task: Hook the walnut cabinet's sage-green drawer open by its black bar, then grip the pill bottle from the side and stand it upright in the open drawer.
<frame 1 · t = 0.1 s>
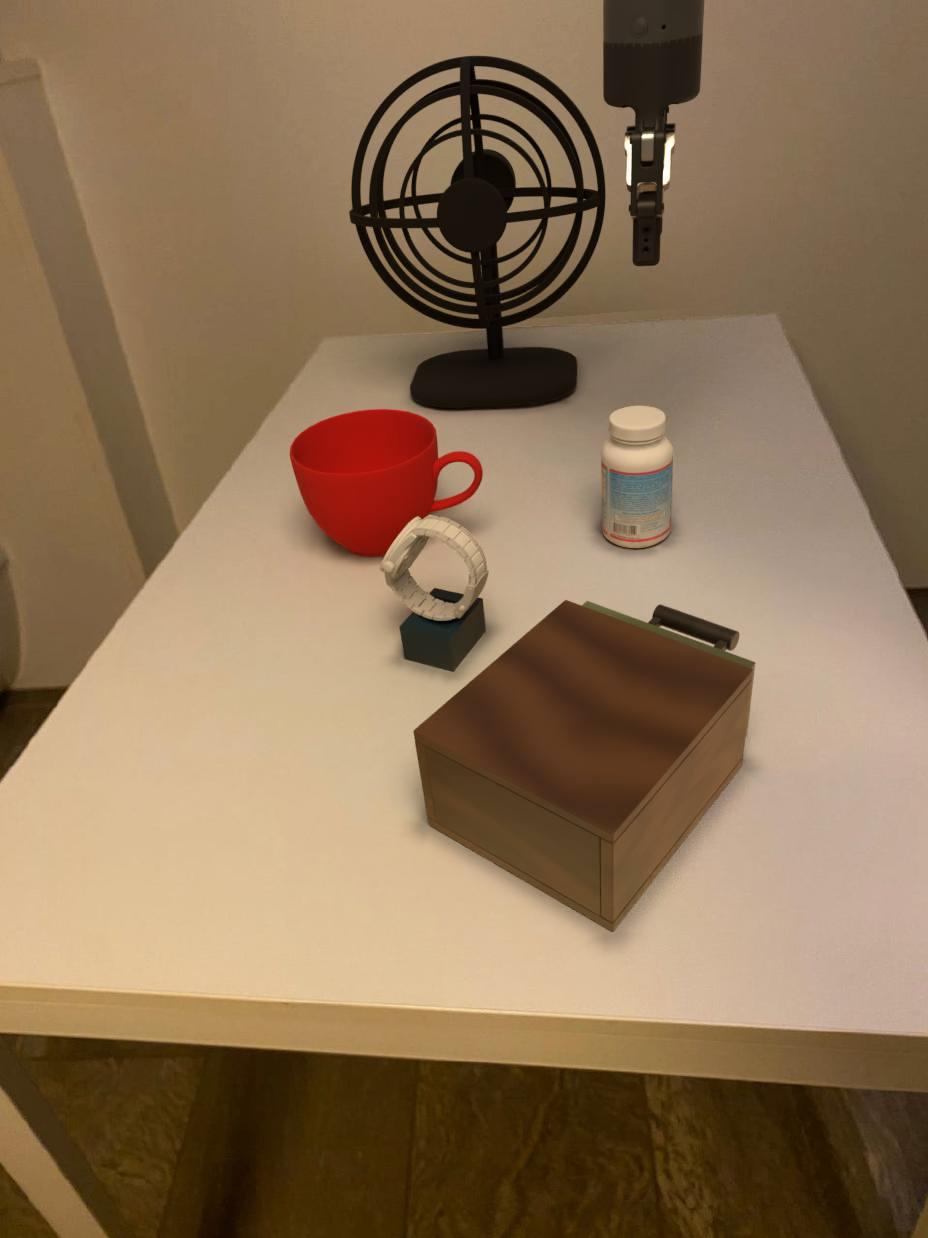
hand: (647, 249, 83), 21 cm above the table, tool pointing down, fingers open, 8 cm apart
drawer: (626, 707, 62), point 4 cm above the table, slide at 0.5 cm
desk fan: (492, 388, 116), on the table
ceramic cup: (399, 540, 89), on the table
cabinet: (587, 794, 61), on the table
pill bottle: (635, 534, 86), on the table
watch: (444, 646, 76), on the table
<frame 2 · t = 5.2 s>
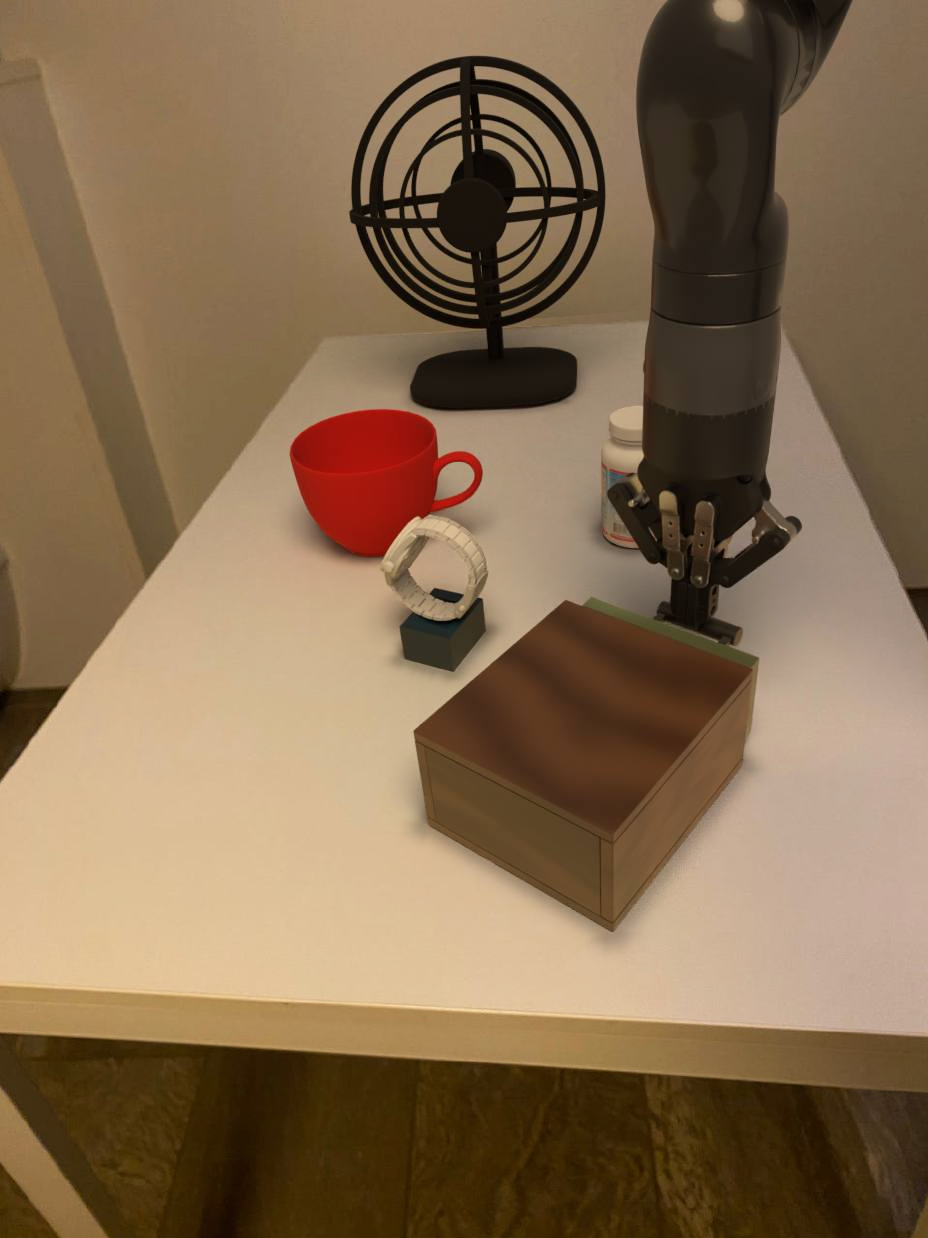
hand: (692, 620, 66), 6 cm above the table, tool pointing down, fingers closed
drawer: (631, 702, 62), point 4 cm above the table, slide at 1.1 cm, touching gripper
everything else where it was.
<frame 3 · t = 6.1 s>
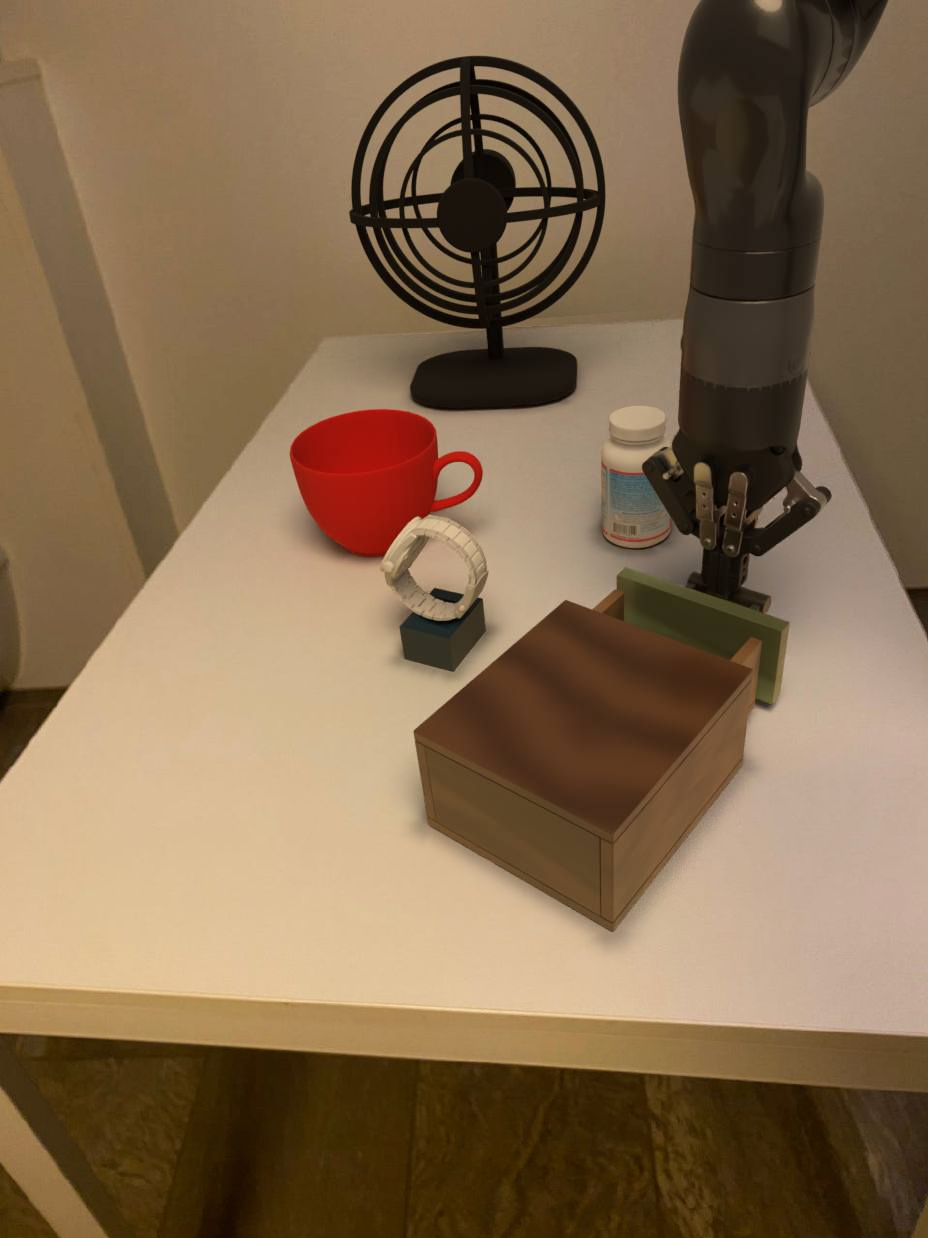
hand: (722, 589, 69), 6 cm above the table, tool pointing down, fingers closed
drawer: (665, 666, 65), point 4 cm above the table, slide at 5.4 cm, touching gripper
everything else where it was.
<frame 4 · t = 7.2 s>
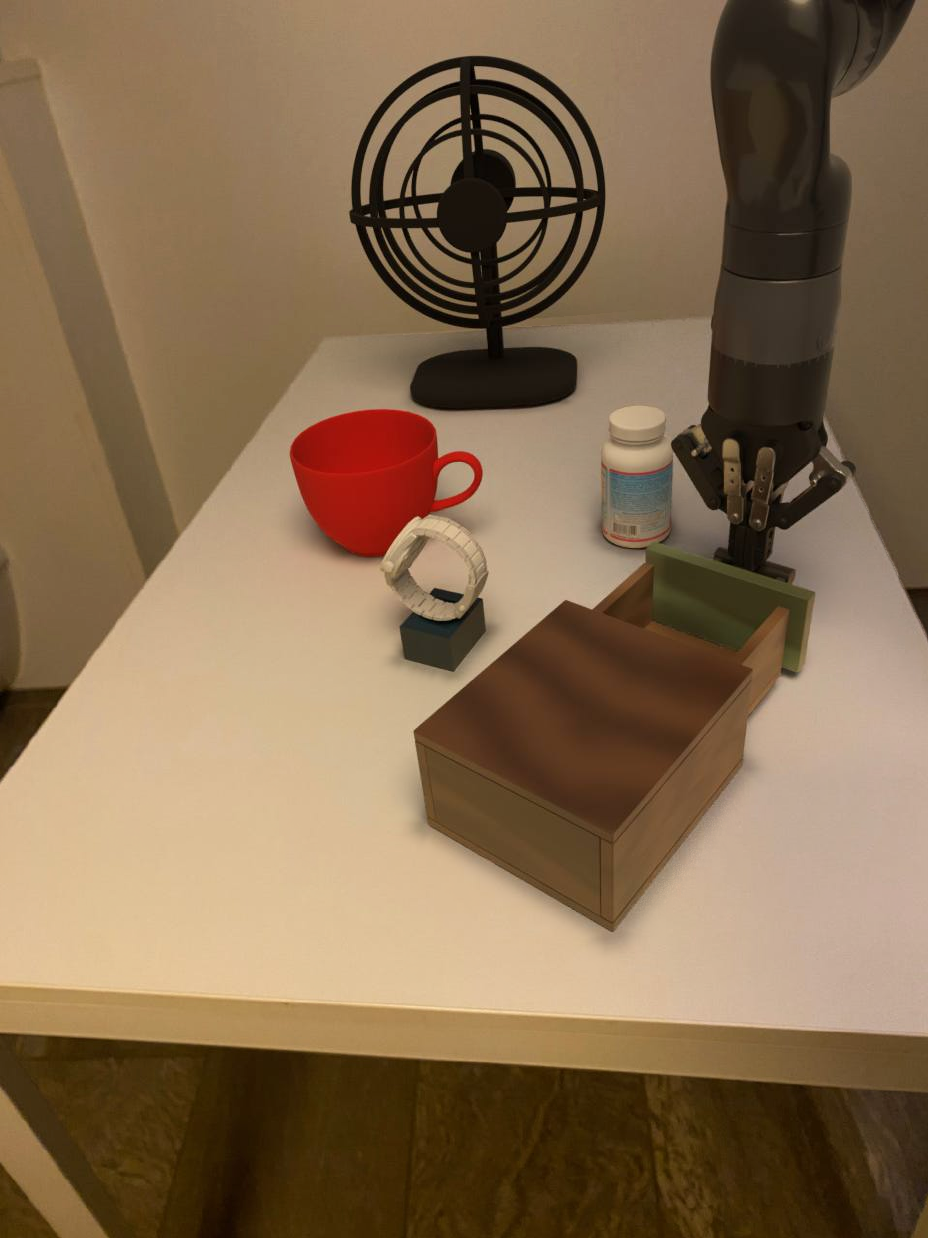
hand: (748, 563, 71), 6 cm above the table, tool pointing down, fingers closed
drawer: (694, 635, 67), point 4 cm above the table, slide at 9.5 cm, touching gripper
everything else where it was.
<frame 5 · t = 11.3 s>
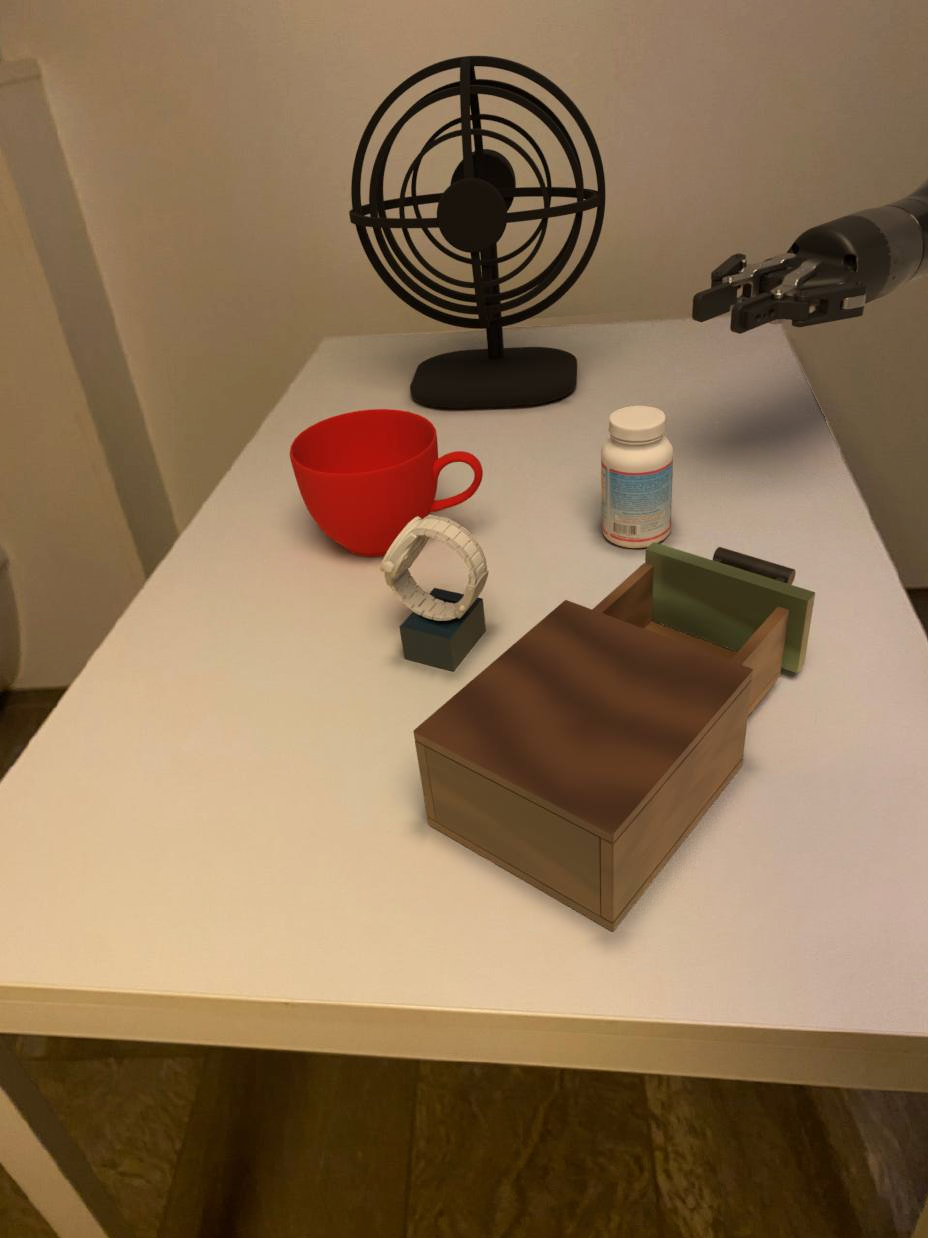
hand: (715, 314, 75), 19 cm above the table, tool horizontal, fingers open, 3 cm apart
drawer: (694, 636, 67), point 4 cm above the table, slide at 9.4 cm
everything else where it was.
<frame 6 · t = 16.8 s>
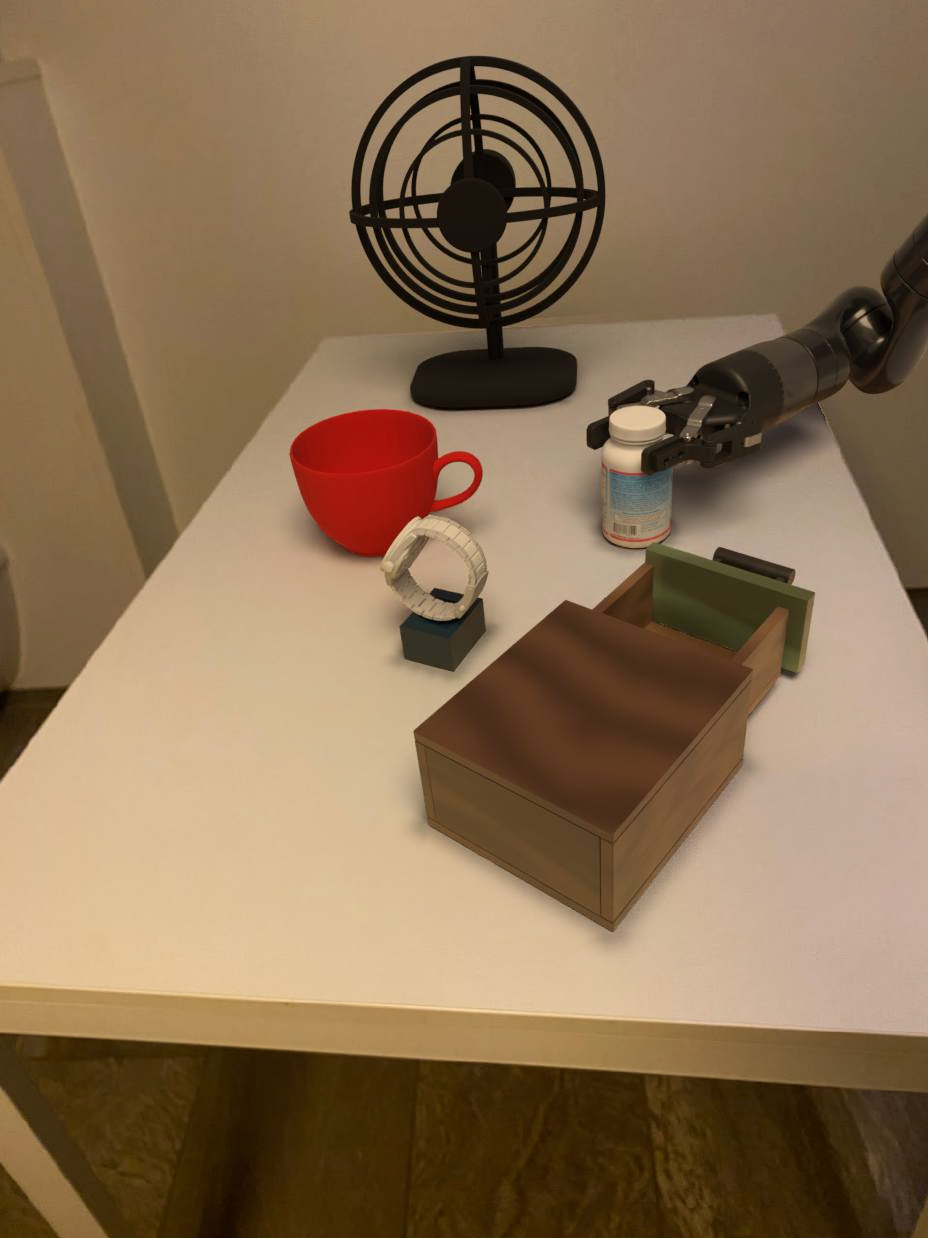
hand: (616, 450, 80), 9 cm above the table, tool horizontal, fingers closed on pill bottle, 6 cm apart
pill bottle: (635, 534, 86), on the table, touching gripper
everything else where it was.
when the fingers open (11 cm above the table, at t = 25.2 s): pill bottle stays where it is, resting on drawer.
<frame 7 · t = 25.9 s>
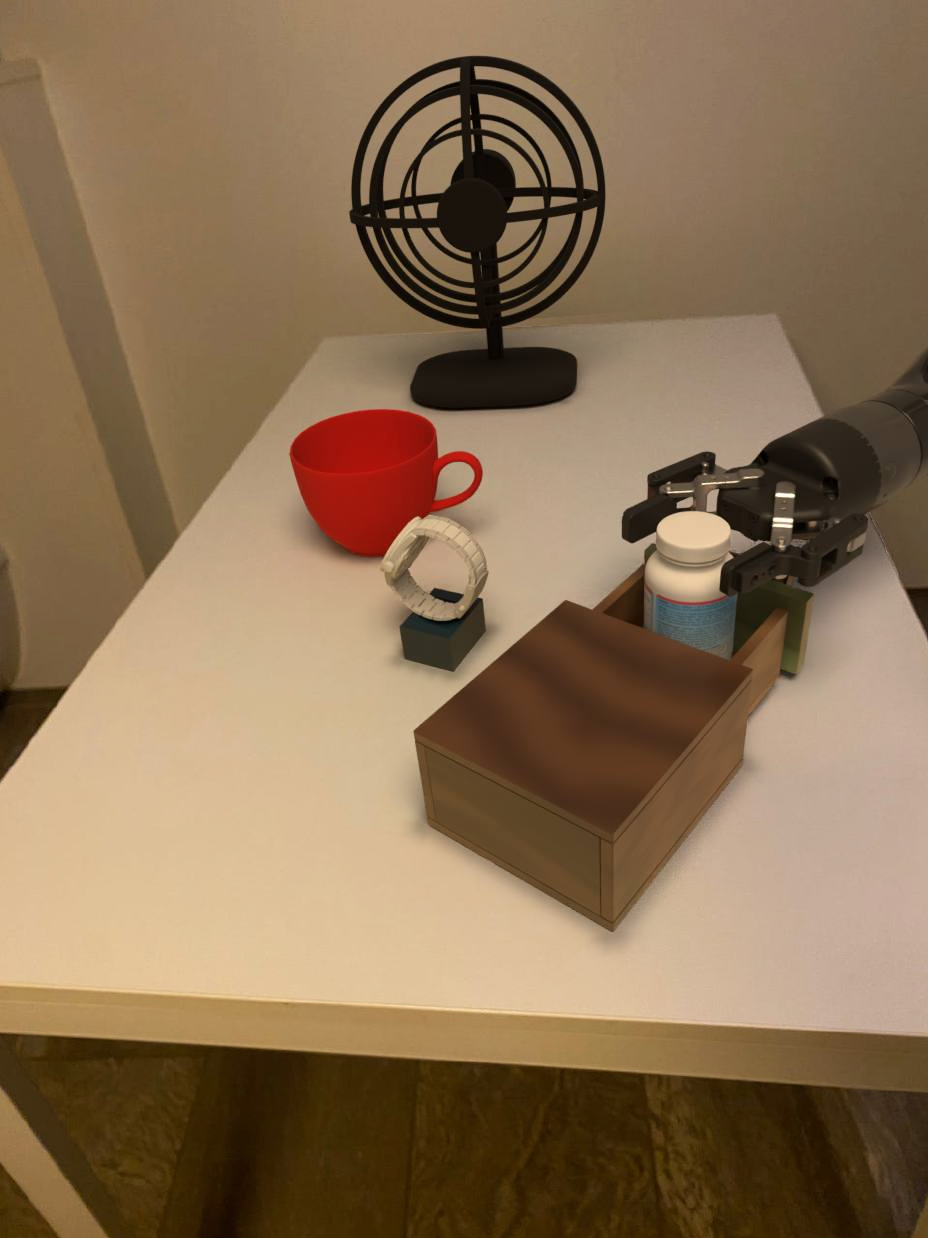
hand: (672, 554, 61), 12 cm above the table, tool horizontal, fingers open, 8 cm apart
drawer: (693, 637, 67), point 4 cm above the table, slide at 9.3 cm, touching pill bottle
pill bottle: (686, 667, 68), point 2 cm above the table, touching drawer
everything else where it was.
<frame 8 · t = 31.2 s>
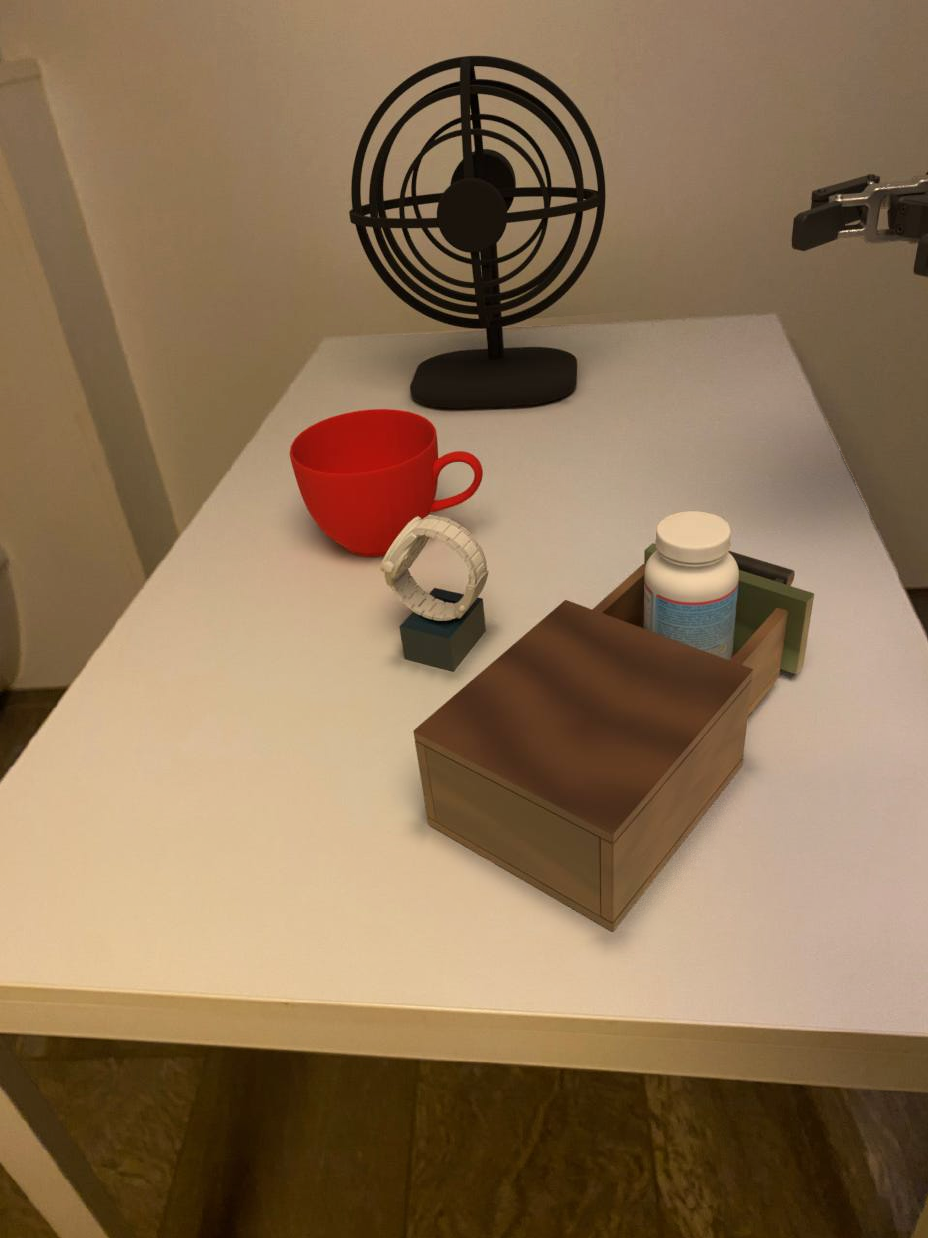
hand: (855, 245, 57), 28 cm above the table, tool horizontal, fingers open, 8 cm apart
nothing on the table moved.
at the end: drawer slide at 9.3 cm; pill bottle inside the target area in the drawer (0.1 cm from its centre), point 1.8 cm above the cabinet's base; pill bottle tilted 0° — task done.
